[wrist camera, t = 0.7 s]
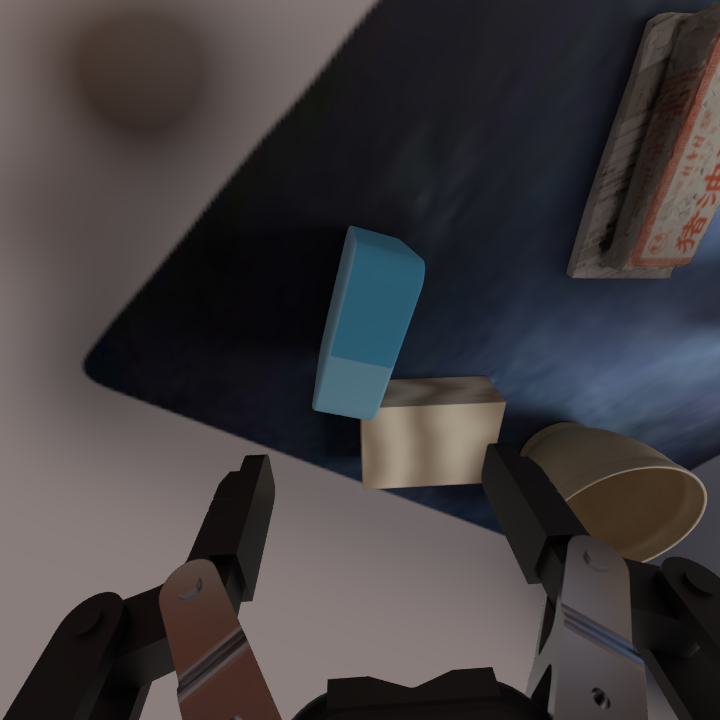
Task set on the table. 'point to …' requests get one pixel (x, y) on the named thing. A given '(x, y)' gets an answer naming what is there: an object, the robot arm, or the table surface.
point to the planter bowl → (619, 488)
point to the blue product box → (366, 323)
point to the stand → (430, 432)
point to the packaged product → (658, 156)
